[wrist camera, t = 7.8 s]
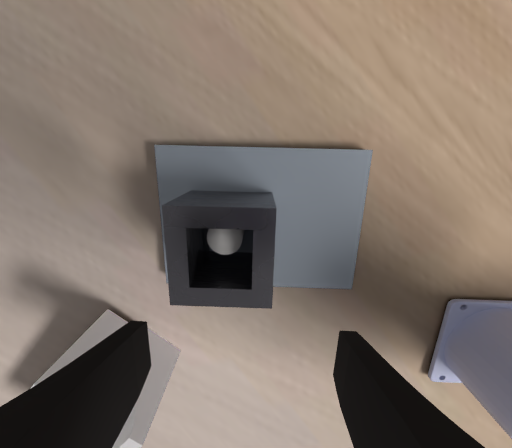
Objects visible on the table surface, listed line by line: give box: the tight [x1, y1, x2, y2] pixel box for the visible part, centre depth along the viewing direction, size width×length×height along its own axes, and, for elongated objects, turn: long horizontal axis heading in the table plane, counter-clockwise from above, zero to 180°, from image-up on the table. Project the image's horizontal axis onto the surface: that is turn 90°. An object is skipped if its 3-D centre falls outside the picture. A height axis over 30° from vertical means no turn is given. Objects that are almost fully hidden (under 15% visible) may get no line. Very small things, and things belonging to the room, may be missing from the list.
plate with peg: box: [154, 145, 373, 289], centre depth 16 cm, size 14×10×4 cm
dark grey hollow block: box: [162, 190, 277, 308], centre depth 15 cm, size 6×6×5 cm
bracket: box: [30, 309, 181, 448], centre depth 19 cm, size 13×7×8 cm, turn 139°
